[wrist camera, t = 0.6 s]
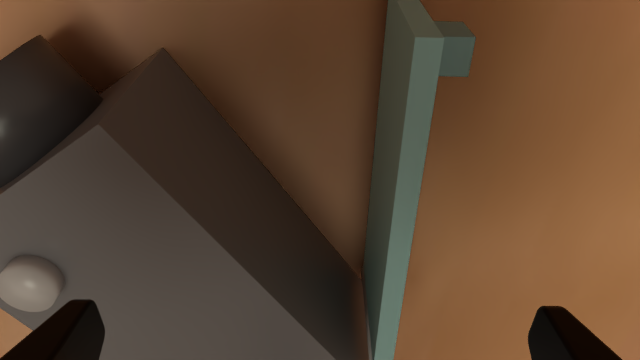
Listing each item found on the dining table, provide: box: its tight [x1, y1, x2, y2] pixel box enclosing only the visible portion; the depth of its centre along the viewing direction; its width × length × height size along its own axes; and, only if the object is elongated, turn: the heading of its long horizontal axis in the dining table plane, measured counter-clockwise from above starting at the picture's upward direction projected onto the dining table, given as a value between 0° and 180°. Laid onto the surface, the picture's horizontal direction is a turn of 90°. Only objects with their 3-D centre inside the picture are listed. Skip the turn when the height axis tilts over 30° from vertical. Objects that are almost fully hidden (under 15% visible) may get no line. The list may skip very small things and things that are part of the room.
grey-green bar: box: [361, 0, 476, 360], centre depth 20 cm, size 15×2×6 cm, turn 179°
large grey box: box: [0, 35, 369, 360], centre depth 22 cm, size 19×9×8 cm, turn 34°
